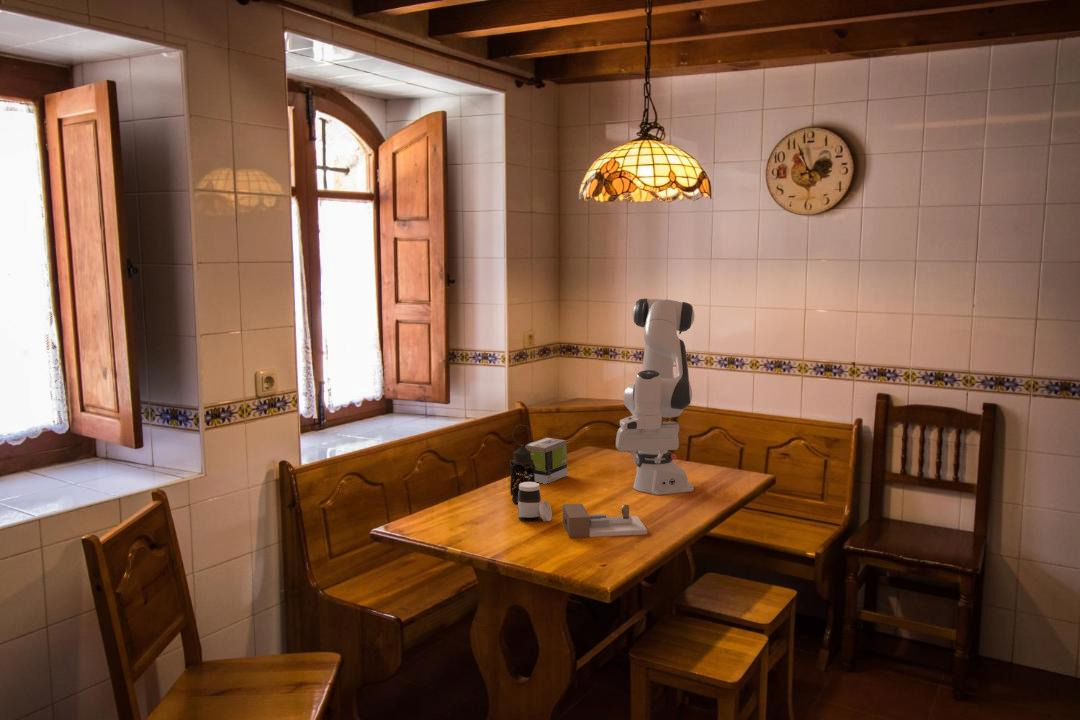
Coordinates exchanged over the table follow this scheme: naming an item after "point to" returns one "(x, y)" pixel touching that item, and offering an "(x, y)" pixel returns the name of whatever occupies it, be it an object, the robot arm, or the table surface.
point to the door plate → (596, 524)
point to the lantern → (521, 469)
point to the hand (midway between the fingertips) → (647, 463)
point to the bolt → (620, 520)
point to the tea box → (548, 459)
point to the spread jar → (532, 503)
